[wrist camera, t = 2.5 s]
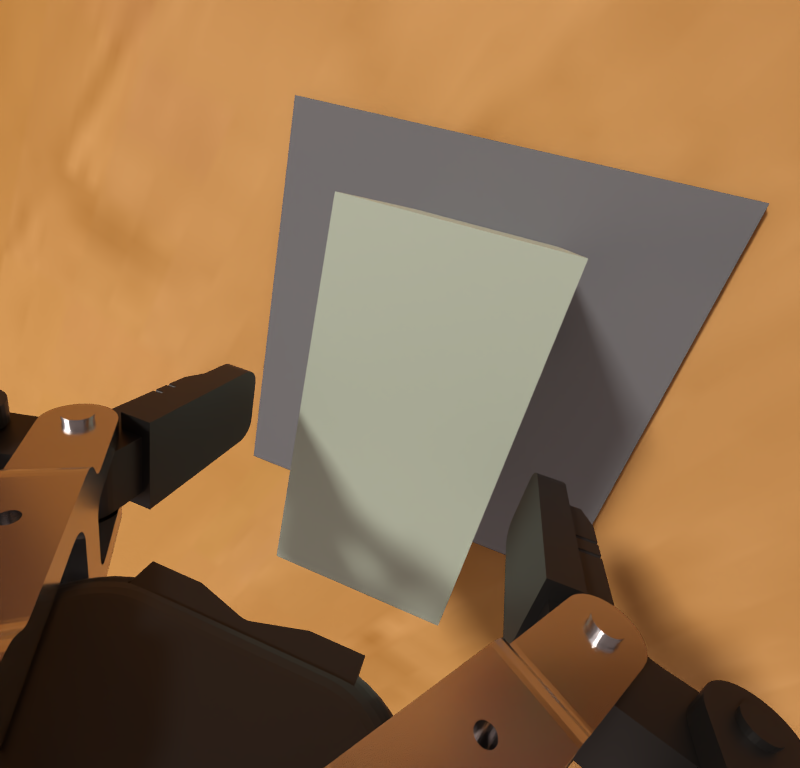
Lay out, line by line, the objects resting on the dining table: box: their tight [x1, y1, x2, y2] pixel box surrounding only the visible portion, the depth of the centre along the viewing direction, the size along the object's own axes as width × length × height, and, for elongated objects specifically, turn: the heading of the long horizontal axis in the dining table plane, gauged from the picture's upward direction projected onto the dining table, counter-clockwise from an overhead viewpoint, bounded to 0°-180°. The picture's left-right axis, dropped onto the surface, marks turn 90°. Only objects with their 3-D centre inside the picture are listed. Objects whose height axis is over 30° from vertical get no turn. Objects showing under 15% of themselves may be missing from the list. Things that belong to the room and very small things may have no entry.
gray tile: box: [254, 95, 769, 555], centre depth 19 cm, size 18×18×1 cm
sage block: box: [277, 191, 588, 625], centre depth 15 cm, size 6×12×8 cm, turn 166°
